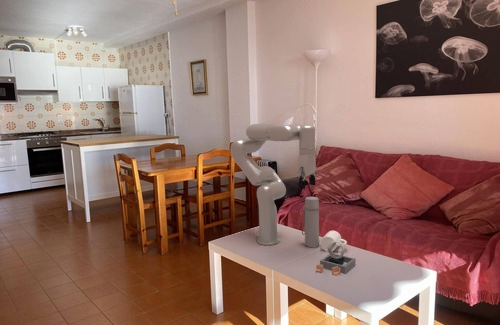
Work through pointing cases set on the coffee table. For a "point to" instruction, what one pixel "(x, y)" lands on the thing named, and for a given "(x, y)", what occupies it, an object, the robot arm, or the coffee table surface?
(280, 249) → the coffee table surface
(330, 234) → the mug
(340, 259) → the watch
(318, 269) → the clip
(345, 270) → the holder
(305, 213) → the water bottle
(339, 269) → the clip
